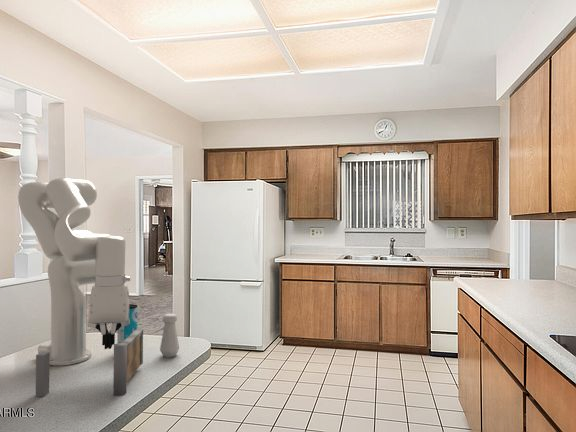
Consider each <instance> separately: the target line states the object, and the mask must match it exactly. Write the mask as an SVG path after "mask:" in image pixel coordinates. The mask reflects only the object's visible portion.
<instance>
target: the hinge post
mask: <svg viewBox="0 0 576 432" xmlns="http://www.w3.org/2000/svg"><path fill="white" fill-rule="evenodd" d="M127 382H128V381H127V343H115V344H114V345H113V396H115V397H116V396H117V397H118V396H119V397H120V396H124V395H125V394H127Z"/></svg>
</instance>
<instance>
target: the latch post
mask: <svg viewBox="0 0 576 432" xmlns="http://www.w3.org/2000/svg"><path fill="white" fill-rule="evenodd" d="M48 394H50V352H41V353H37V354H36V355H35V397H37V398H38V397H41V398H42V397H45V396H47V395H48Z"/></svg>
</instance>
